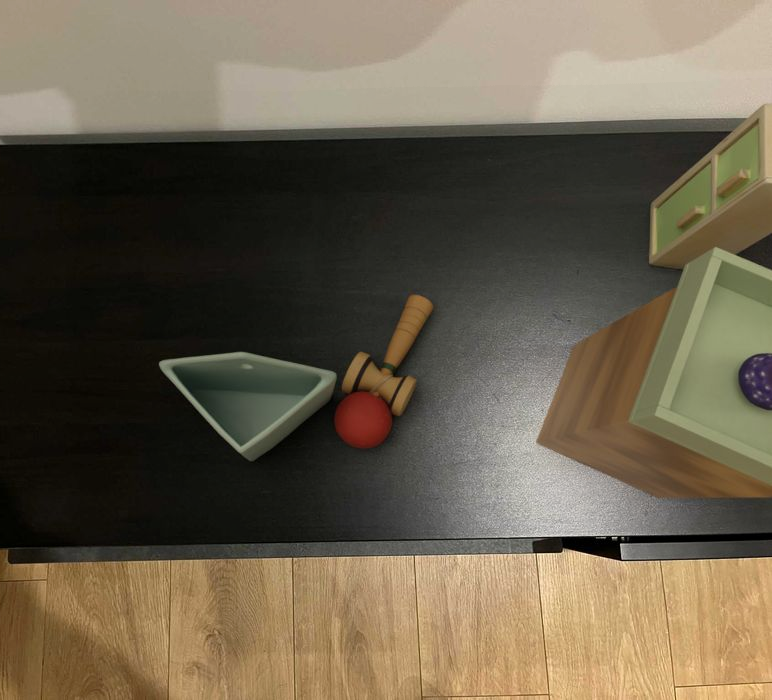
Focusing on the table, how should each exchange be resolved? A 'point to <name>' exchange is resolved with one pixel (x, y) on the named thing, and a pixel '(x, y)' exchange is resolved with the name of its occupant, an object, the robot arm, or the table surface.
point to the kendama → (380, 384)
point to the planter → (251, 395)
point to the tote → (712, 364)
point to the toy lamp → (757, 380)
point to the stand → (612, 411)
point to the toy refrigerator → (718, 198)
